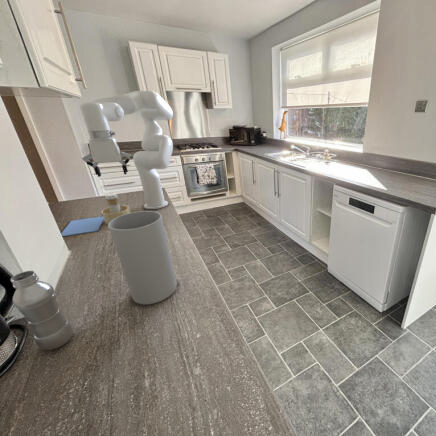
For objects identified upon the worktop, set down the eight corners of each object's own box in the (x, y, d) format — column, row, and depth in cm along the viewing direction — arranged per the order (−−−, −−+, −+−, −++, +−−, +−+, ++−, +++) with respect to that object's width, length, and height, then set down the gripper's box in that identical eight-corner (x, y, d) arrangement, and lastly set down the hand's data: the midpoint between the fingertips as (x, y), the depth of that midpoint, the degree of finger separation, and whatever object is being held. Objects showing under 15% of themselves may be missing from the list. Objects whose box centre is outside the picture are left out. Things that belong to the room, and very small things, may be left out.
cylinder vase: (149, 311, 68) (125, 234, 58) (123, 296, 73) (97, 223, 63) (185, 286, 78) (171, 216, 68) (161, 274, 83) (143, 208, 73)
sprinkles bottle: (115, 217, 124) (108, 193, 119) (125, 217, 125) (118, 192, 119) (111, 221, 120) (103, 196, 114) (121, 220, 121) (113, 195, 115)
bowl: (107, 218, 125) (103, 207, 123) (133, 214, 130) (130, 204, 127) (102, 226, 116) (98, 215, 113) (130, 222, 120) (127, 211, 118)
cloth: (71, 221, 121) (71, 220, 120) (105, 216, 126) (105, 216, 126) (59, 237, 106) (58, 236, 106) (97, 231, 112) (97, 230, 112)
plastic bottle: (35, 358, 55) (-9, 289, 47) (48, 335, 60) (11, 270, 52) (70, 348, 57) (34, 281, 49) (80, 327, 63) (49, 263, 55)
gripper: (125, 133, 107) (135, 171, 115) (76, 134, 100) (90, 175, 107) (124, 135, 101) (134, 174, 109) (72, 136, 94) (87, 179, 101)
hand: (113, 174), depth 108 cm, fingers open, 9 cm apart
